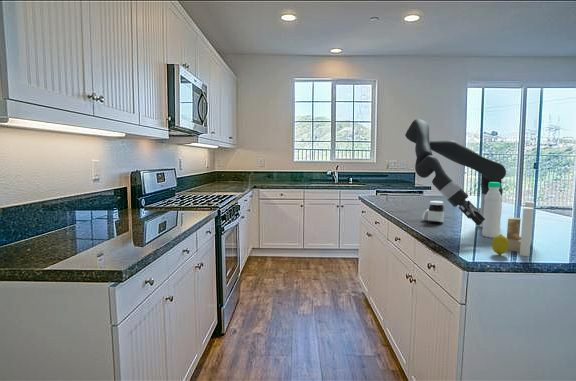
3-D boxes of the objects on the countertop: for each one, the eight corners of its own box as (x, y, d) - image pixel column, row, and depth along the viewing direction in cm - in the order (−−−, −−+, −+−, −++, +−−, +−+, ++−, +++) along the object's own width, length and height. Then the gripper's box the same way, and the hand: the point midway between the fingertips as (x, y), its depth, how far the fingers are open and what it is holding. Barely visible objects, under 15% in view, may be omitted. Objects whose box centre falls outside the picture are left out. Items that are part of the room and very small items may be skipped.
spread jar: (441, 225, 187) (442, 203, 185) (419, 222, 193) (420, 201, 191) (445, 221, 197) (446, 200, 195) (424, 219, 203) (425, 199, 201)
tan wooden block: (505, 247, 144) (508, 218, 143) (507, 245, 147) (509, 217, 146) (519, 249, 141) (521, 220, 140) (520, 247, 145) (522, 218, 143)
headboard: (504, 252, 137) (507, 206, 135) (508, 241, 154) (511, 200, 152) (529, 256, 132) (533, 208, 130) (530, 243, 150) (534, 201, 148)
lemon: (487, 253, 136) (489, 232, 135) (501, 252, 137) (502, 232, 136) (497, 257, 131) (498, 236, 130) (511, 257, 131) (513, 236, 130)
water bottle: (497, 235, 165) (501, 181, 162) (501, 238, 158) (505, 183, 155) (480, 234, 167) (484, 181, 164) (483, 237, 160) (487, 182, 157)
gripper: (457, 189, 148) (487, 219, 143) (463, 186, 159) (491, 214, 154) (443, 201, 151) (471, 231, 146) (450, 197, 163) (476, 225, 158)
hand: (481, 222), depth 150 cm, fingers open, 8 cm apart
